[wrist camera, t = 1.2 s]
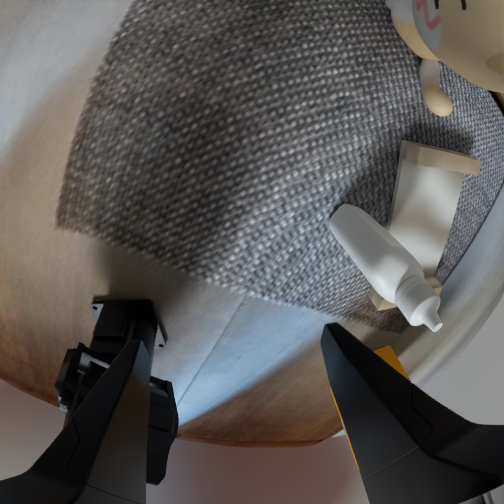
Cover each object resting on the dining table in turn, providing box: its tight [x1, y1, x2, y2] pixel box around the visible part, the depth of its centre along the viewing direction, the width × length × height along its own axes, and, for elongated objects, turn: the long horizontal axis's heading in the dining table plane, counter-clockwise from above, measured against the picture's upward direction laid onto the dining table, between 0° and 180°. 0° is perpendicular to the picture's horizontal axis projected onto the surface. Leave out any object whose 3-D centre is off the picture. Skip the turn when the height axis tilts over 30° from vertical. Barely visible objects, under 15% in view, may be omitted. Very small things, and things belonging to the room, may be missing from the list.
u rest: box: [368, 140, 481, 311], centre depth 22 cm, size 16×9×2 cm, turn 0°
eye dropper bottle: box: [329, 204, 442, 332], centre depth 17 cm, size 4×6×12 cm
